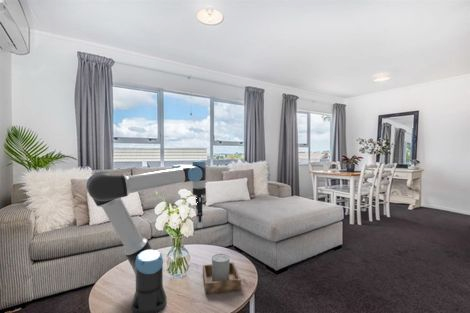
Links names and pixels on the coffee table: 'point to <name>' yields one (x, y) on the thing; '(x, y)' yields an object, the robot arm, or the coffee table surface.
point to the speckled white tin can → (220, 267)
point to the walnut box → (224, 285)
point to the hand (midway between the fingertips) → (199, 223)
